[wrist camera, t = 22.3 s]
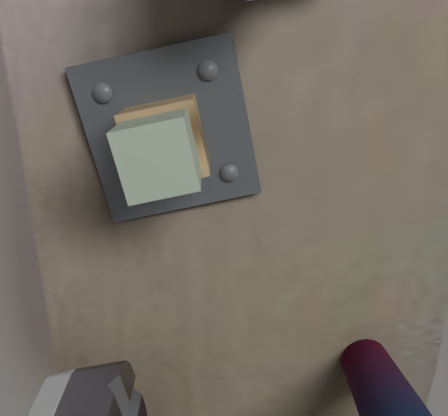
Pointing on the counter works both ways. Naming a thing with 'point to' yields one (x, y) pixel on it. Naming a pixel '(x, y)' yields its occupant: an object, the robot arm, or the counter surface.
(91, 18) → the counter surface
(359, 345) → the cup
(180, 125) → the sage block
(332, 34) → the counter surface
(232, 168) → the build plate
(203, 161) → the oak block
